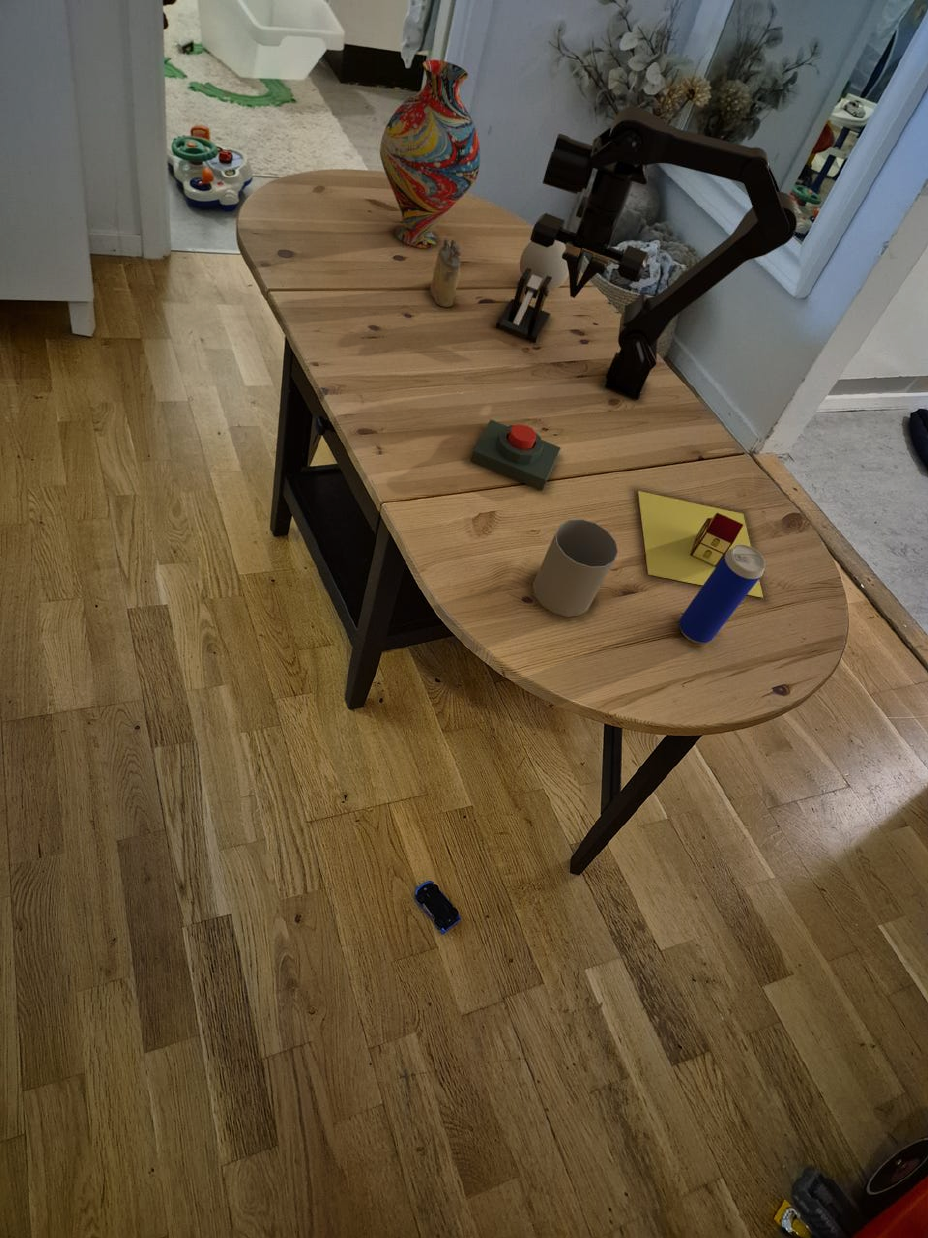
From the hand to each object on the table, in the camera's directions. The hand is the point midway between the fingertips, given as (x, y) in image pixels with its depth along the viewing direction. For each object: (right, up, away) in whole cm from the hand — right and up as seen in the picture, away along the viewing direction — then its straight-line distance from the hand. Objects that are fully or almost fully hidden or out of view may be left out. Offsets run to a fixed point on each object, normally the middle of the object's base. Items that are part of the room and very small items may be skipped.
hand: (572, 296), depth 134 cm
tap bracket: (-7, +1, +16) cm, 18 cm away
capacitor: (-23, +6, +16) cm, 28 cm away
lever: (-8, +2, +10) cm, 13 cm away
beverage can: (+14, -56, -24) cm, 62 cm away
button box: (-10, -29, -10) cm, 33 cm away
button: (-10, -27, -12) cm, 32 cm away
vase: (-28, +23, +28) cm, 46 cm away
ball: (-4, +12, +26) cm, 29 cm away
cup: (-5, -51, -25) cm, 57 cm away
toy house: (+17, -43, -12) cm, 48 cm away
